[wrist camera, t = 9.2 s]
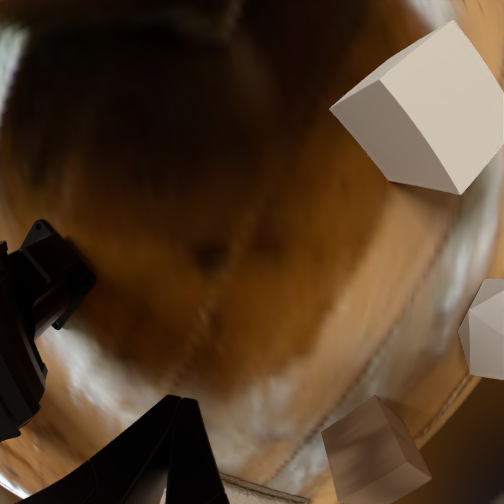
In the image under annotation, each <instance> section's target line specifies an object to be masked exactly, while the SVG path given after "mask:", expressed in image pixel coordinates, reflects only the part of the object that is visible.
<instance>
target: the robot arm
mask: <svg viewBox="0 0 504 504" xmlns="http://www.w3.org/2000/svg"><path fill="white" fill-rule="evenodd" d="M39 224H40V225H41V229H40V227H39ZM7 250H8V247H7V242H6V241H0V442H2V441H4V440H7V439H11V438H15V437H19V436H20V435H21V432H20V430H19V429H20V428H22V427H23V426H25V425H26V424H27V423H28V422H30V421H31V420H32V418H33V417H34V416H35V415H36V414H37V413H38V412H39V410H40V408H41V405H40V403H39V402H40V400H41V398H42V395H43V393H44V391H45V379H46V376H47V372H48V370H47V367H46V365H45V363H43V362H42V359H41V357H40V355H39V352H38V350H37V347H36V345H35V342H34V341H35V340H36V339H37V338H38V337H39V336H40V335H41V334H42V333H43V332H44V331H45V330H46V329H47V328H48V327H50V326H52V327H53V328H54V329H56V330H60V329H61V328H62V327H63V326H64V324H65V323H66V322H67V320H68V319H69V317H70V316H71V315H72V313H73V312H74V311H75V309H76V308H77V307H78V305H79V304H80V303H81V301H82V300H83V299H84V298H85V296H86V295H87V294H88V292H89V291H90V290H91V289H92V287H93V286H94V285H95V283H96V277H95V275H94V274H93V273H92V272H91V271H90V270H89V269H88V268H87V267H86V266H85V265H84V264H83V263H82V262H81V261H80V260H79V259H78V256H77V255H76V254H75V253H74V252H73V251H72V250H71V249H70V248H69V247H68V246H67V244H66V243H65V242H64V241H63V240H62V239H61V238H60V237H59V236H58V234H57V233H55V232H54V231H53V230H52V229H51V228H50V227H49V225H48V224H47V223H46V222H45V221H44V220H43V219H40V220H37V221H35V223H34V224H33V226H32V228H31V229H30V231H29V233H28V235H27V237H26V238H25V240H24V242H23V244H22V246H21V247H20V249H18V250H16V251H14V252H12V253H10V254H7ZM87 278H89V279H90V280H91V282H89V281H88V280H87ZM56 322H57V323H58V324H57V323H56ZM166 484H167V485H166ZM165 487H166V498H165V504H230V502H229V499H228V496H227V494H226V493H225V488H224V485H223V483H222V480H221V477H220V474H219V471H218V468H217V464H216V461H215V458H214V455H213V452H212V449H211V445H210V442H209V439H208V435H207V432H206V429H205V425H204V422H203V418H202V415H201V411H200V408H199V404H198V401H197V400H196V399H190V398H183V399H182V398H181V397H180V396H175V395H170V394H169V395H166V396H165V397H164V398H163V399H162V400H160V401H159V402H158V403H157V404H156V405H155V406H153V407H152V408H151V409H150V410H149V411H148V412H146V413H145V414H144V415H143V416H142V417H140V418H139V419H138V420H137V421H136V422H134V423H133V424H132V425H131V426H130V427H128V428H127V429H126V430H125V431H124V432H122V433H121V434H120V435H119V436H117V437H116V438H115V439H114V440H112V441H111V442H110V443H109V444H108V445H106V446H105V447H104V448H103V449H101V450H100V451H99V452H97V453H96V454H95V455H94V456H92V457H91V458H90V459H89V461H88V460H87V461H86V462H85V463H83V464H82V465H81V466H79V467H78V468H77V469H75V470H74V471H73V472H71V473H70V474H68V475H67V476H65V477H64V478H62V479H60V480H59V481H57V482H55V483H54V484H52V485H50V486H48V487H47V488H45V489H43V490H41V491H39V492H37V493H35V494H33V495H31V496H29V497H27V498H25V499H23V500H21V501H19V502H17V503H15V504H160V501H161V498H162V495H163V493H164V490H165Z"/></svg>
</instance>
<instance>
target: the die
mask: <svg viewBox="0 0 504 504" xmlns="http://www.w3.org/2000/svg"><path fill="white" fill-rule="evenodd" d="M458 334H459V338H460V341H461V344H462V348H463V351H464V355H465V358H466V362H467V366H468V370H469V374H470V375H475V376H481V377H488V378H494V379H500V380H504V278H503V279H484V281H483V283H482V285H481V287H480V289H479V291H478V293H477V295H476V297H475V299H474V301H473V303H472V305H471V307H470V308H469V310H468V312H467V314H466V316H465V318H464V320H463V322H462V324H461V325H460V327H459V329H458Z"/></svg>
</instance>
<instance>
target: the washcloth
mask: <svg viewBox="0 0 504 504" xmlns="http://www.w3.org/2000/svg"><path fill="white" fill-rule="evenodd" d="M219 474H220V477H221V480H222V483H223V485H224V488H225V493H226V494H227V496H228V499H229V502H230V504H308V499H307V500H306V499H304V498H301V497H297V496H293V495H289V494H286V493H281V492H278V491H275V490H271V489H268V488H266V487H261V486H259V485H254V484H252V483H248V482H245V481H241V480H239V479H236V478H234V477H230V476H227V475H224V474H222V473H220V472H219ZM166 485H167V484H166ZM165 498H166V487H165V490H164V493H163V495H162V498H161V501H160V504H165Z"/></svg>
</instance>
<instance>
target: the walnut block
mask: <svg viewBox="0 0 504 504" xmlns="http://www.w3.org/2000/svg"><path fill="white" fill-rule="evenodd" d="M321 433H322V437H323V441H324V445H325V449H326V453H327V457H328V461H329V465H330V469H331V473H332V478H333V482H334V486H335V490H336V494H337V499H338V501H340V502H342V503H345V504H391V503H393V502H395V501H396V500H398V499H400V498H401V497H403V496H405V495H407V494H409V493H410V492H412V491H413V490H415V489H417V488H418V487H420V486H421V485H423V484H424V483H426V482H427V481H429V480H431V479H432V477H431V475H430V473H429V471H428V469H427V467H426V465H425V462H424V461H423V459H422V457H421V455H420V453H419V451H418V449H417V447H416V445H415V443H414V441H413V439H412V437H411V435H410V433H409V431H408V429H407V427H406V425H405V424H404V422H403V420H402V419H401V418H400V417H399V416H397V415H396V414H395V413H394V412H393V411H392V410H391V409H390V408H389V407H387V406H386V405H385V404H384V403H383V402H382V401H381V400H380V399H379V398H378V397H376V396H375V395H374V396H373V397H372V398H370V399H369V400H368V401H366V402H365V403H364V404H362V405H361V406H359V407H358V408H357V409H355V410H354V411H352V412H351V413H349V414H348V415H347V416H345V417H344V418H342V419H341V420H339V421H338V422H336V423H335V424H333V425H331V426H330V427H328V428H327V429H325V430H324V431H322V432H321Z"/></svg>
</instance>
